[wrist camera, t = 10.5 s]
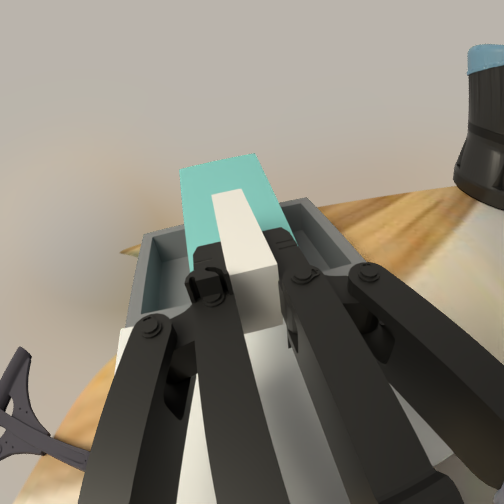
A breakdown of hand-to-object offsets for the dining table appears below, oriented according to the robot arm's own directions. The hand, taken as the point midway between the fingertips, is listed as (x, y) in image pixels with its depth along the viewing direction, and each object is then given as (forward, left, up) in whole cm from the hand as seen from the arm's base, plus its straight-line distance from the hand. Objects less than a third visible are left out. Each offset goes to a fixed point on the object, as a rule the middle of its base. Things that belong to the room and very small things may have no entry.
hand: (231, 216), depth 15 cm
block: (0, 0, -5) cm, 5 cm away
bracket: (+17, +7, -10) cm, 21 cm away
